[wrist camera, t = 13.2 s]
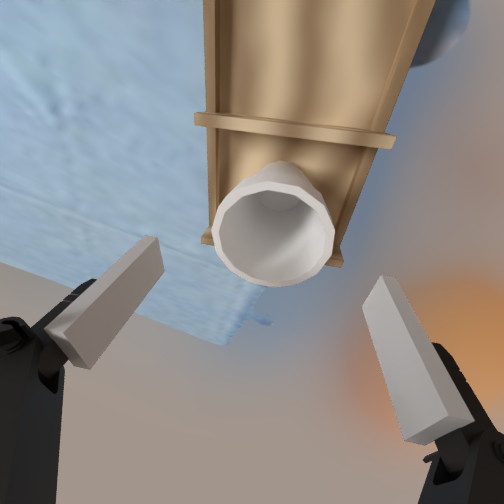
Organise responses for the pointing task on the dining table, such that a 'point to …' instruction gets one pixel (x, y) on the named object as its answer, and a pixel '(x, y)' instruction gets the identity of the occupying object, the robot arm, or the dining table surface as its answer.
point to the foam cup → (274, 227)
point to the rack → (304, 92)
